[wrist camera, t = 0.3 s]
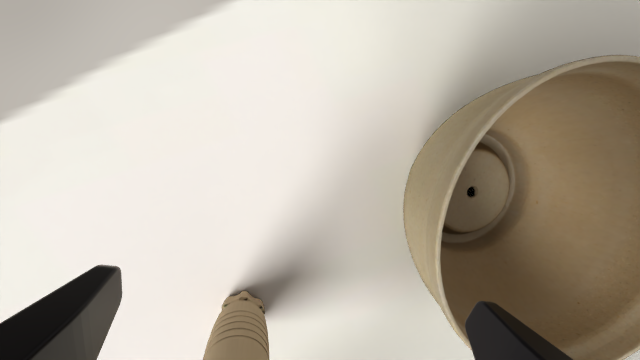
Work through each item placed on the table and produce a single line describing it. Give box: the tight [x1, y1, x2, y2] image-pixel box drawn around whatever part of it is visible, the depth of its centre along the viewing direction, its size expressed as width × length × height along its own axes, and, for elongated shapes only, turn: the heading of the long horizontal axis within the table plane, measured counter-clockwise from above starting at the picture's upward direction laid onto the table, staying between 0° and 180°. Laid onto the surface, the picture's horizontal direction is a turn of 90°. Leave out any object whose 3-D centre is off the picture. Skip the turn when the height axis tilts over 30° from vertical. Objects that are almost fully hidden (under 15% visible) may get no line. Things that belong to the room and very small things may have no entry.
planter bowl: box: [403, 55, 640, 360], centre depth 20 cm, size 16×16×11 cm
